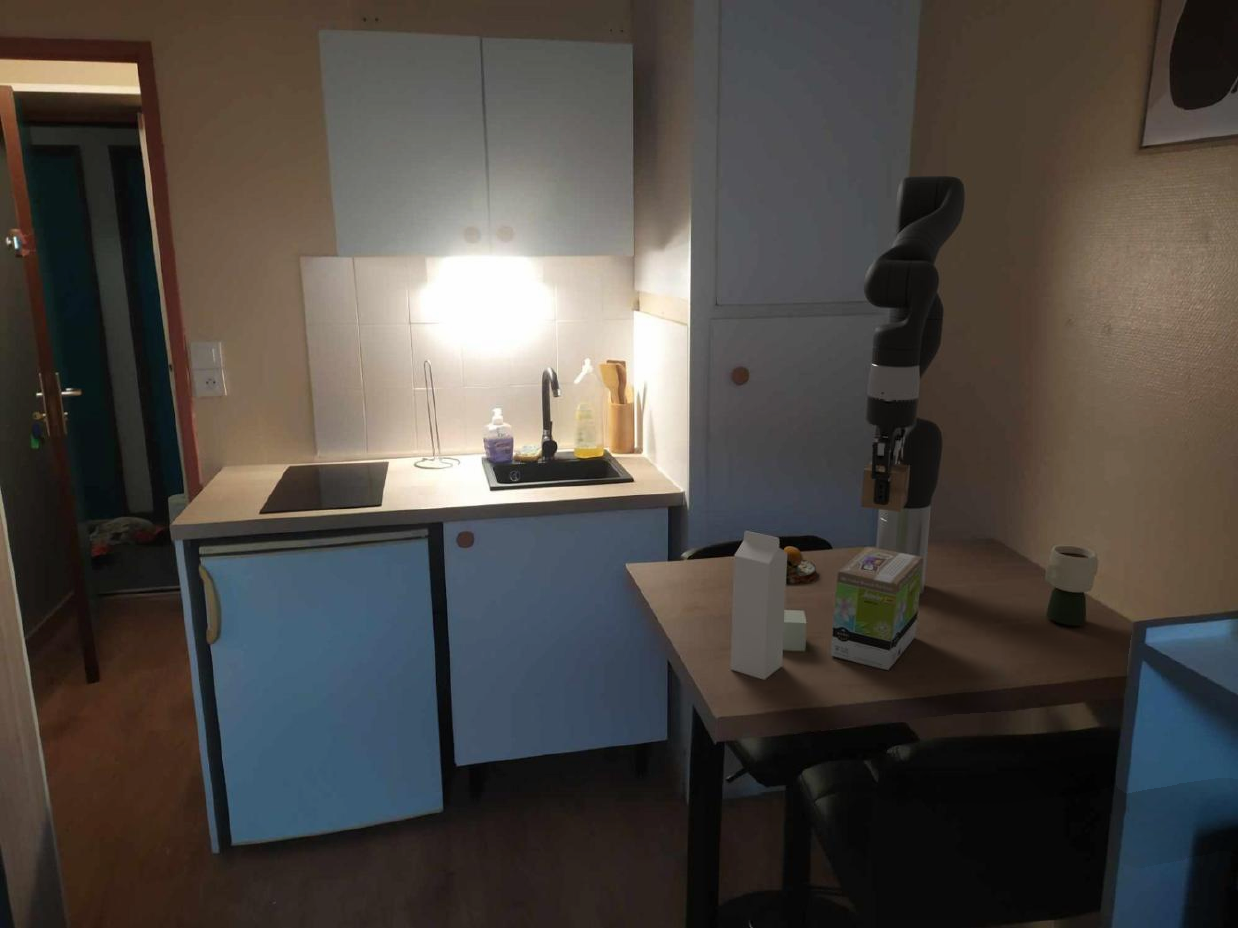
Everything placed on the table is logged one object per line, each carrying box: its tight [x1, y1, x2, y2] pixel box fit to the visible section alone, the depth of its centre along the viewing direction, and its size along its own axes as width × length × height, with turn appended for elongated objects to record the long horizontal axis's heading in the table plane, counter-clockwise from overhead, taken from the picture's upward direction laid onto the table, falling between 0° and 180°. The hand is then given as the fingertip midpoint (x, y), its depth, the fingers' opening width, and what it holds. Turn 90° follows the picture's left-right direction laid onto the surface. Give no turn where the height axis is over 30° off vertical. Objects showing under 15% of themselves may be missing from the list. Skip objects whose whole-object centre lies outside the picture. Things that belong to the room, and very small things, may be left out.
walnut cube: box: [860, 460, 910, 512], centre depth 147 cm, size 6×6×6 cm
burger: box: [783, 545, 817, 585], centre depth 186 cm, size 12×12×8 cm
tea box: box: [830, 546, 923, 671], centre depth 152 cm, size 15×10×15 cm
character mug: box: [1044, 544, 1099, 627], centre depth 162 cm, size 11×7×13 cm, turn 109°
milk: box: [730, 530, 787, 681], centre depth 144 cm, size 6×6×22 cm
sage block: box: [783, 609, 808, 652], centre depth 154 cm, size 5×5×5 cm
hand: (884, 498), depth 148 cm, fingers closed on walnut cube, 6 cm apart
